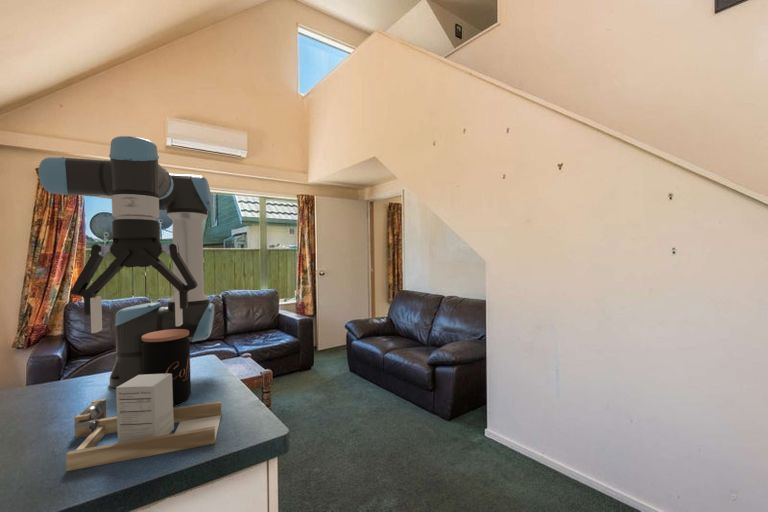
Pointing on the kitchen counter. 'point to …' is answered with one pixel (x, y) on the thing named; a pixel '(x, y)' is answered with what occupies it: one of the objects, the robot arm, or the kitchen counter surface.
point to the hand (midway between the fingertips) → (139, 328)
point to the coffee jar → (169, 359)
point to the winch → (90, 418)
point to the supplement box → (145, 407)
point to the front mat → (199, 424)
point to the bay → (143, 447)
